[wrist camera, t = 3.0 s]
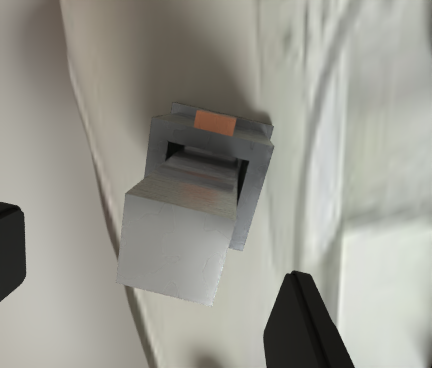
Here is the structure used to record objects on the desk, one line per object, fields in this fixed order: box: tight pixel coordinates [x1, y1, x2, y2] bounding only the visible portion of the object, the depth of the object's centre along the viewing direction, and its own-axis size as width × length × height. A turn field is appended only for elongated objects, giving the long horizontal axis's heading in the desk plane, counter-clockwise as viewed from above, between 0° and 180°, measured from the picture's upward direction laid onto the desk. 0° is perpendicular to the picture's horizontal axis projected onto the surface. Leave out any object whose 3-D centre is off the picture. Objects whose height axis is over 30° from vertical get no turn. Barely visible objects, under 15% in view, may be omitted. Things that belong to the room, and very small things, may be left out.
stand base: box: [144, 102, 274, 251], centre depth 20 cm, size 9×9×8 cm
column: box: [116, 146, 238, 307], centre depth 16 cm, size 4×4×14 cm
